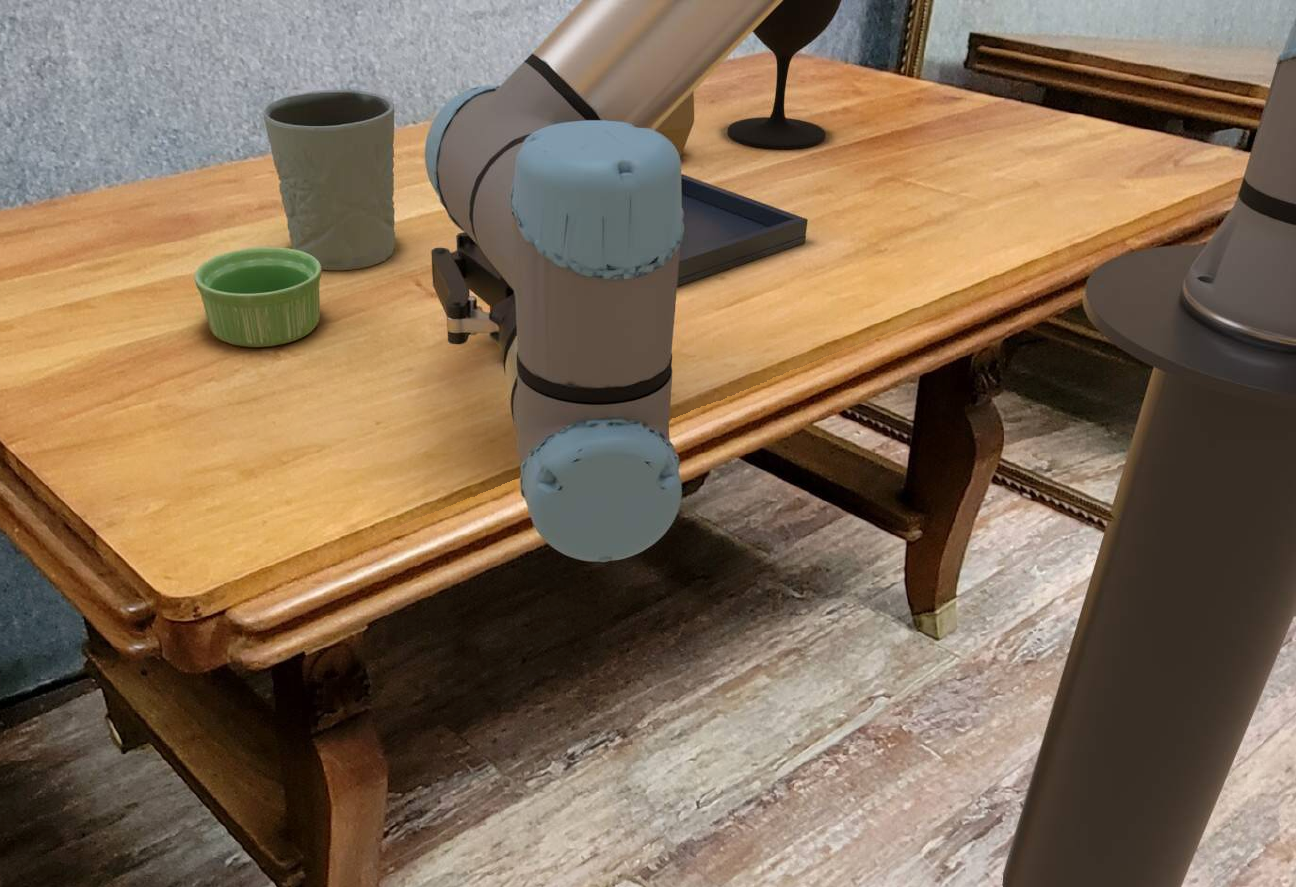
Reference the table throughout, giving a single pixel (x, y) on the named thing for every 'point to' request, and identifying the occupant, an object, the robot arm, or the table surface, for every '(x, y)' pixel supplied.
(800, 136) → the wine glass
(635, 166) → the robot arm
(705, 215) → the tray
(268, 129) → the gray cup
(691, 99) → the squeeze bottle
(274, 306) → the ramekin
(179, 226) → the table surface
